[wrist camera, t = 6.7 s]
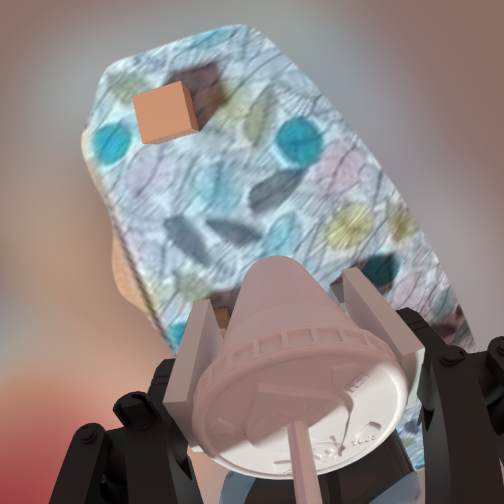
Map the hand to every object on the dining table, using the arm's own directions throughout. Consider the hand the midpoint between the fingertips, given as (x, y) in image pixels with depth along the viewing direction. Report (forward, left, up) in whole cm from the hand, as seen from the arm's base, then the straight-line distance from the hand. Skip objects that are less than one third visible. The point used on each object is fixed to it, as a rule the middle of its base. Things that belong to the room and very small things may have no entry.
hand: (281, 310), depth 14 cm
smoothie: (0, 0, -3) cm, 3 cm away
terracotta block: (+13, +7, -21) cm, 26 cm away
